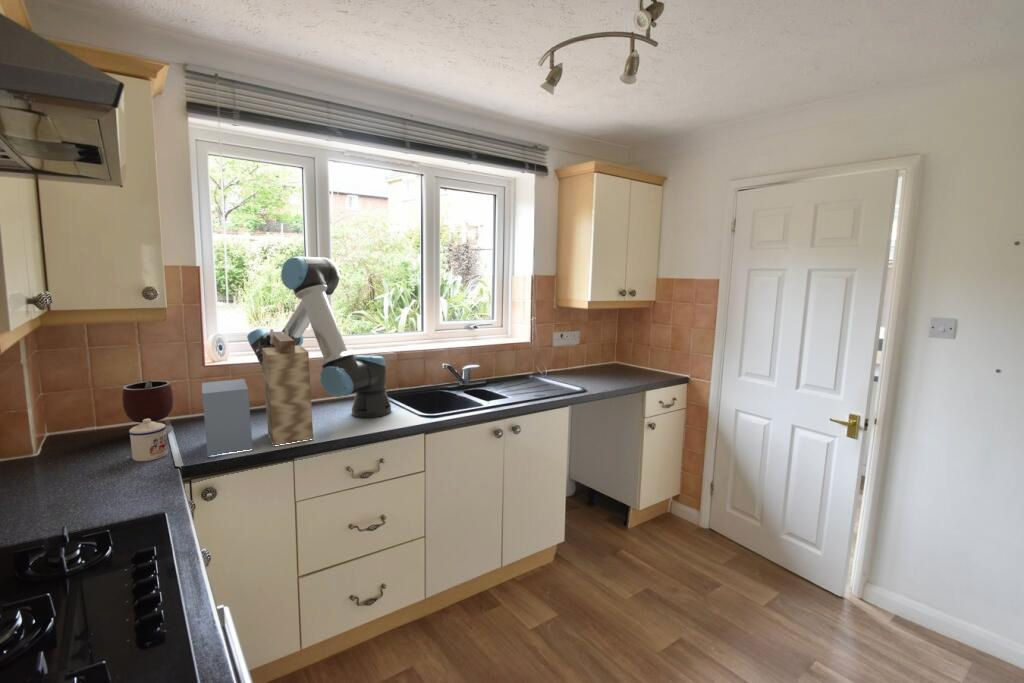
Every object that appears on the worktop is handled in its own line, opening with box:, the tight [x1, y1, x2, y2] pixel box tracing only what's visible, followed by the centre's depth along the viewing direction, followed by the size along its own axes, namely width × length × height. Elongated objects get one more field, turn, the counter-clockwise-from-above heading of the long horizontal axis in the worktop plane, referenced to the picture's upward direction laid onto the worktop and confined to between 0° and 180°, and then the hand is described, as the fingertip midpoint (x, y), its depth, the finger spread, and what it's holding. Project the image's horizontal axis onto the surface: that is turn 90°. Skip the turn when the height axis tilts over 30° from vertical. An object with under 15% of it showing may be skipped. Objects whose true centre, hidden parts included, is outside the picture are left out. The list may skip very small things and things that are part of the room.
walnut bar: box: [272, 331, 295, 354], centre depth 167 cm, size 4×26×4 cm, turn 32°
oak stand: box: [262, 345, 314, 446], centre depth 165 cm, size 12×16×30 cm
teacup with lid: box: [128, 419, 169, 462], centre depth 150 cm, size 12×9×12 cm
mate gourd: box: [122, 380, 174, 434], centre depth 169 cm, size 16×14×20 cm
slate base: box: [201, 378, 254, 457], centre depth 157 cm, size 12×16×20 cm
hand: (279, 332), depth 171 cm, fingers closed on walnut bar, 4 cm apart
